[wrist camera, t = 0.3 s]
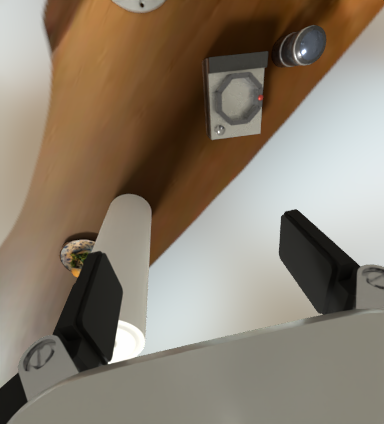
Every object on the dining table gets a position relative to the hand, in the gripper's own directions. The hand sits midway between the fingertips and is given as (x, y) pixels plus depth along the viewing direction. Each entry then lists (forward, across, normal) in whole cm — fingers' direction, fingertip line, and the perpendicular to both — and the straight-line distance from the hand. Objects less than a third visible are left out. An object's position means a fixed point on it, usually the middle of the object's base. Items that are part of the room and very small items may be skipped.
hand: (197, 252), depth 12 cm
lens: (+36, -22, -9) cm, 43 cm away
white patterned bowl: (+36, +26, +25) cm, 51 cm away
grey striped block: (+36, -12, -4) cm, 38 cm away
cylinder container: (+36, +12, +16) cm, 41 cm away
